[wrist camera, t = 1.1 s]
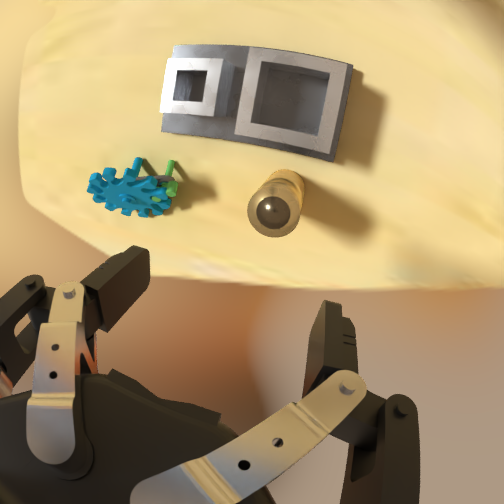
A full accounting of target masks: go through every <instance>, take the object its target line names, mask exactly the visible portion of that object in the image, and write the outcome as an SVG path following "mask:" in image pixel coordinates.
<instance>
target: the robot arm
mask: <svg viewBox="0 0 504 504" xmlns="http://www.w3.org/2000/svg"><path fill="white" fill-rule="evenodd" d="M149 282H150V256H149V251H148V250H147V249H144V248H141V247H138V246H135V245H133V246H131V247H130V248H128V249H127V250H126V251H125V252H123V253H122V252H121V253H119V254H116V255H114V256H112V257H110V258H109V259H108V260H107V261H105V263H103V264H101V265H100V266H99V268H97V269H95V270H94V271H93V272H92V273H91V274H89V275H88V276H87V277H86V278H84V279H83V280H82V281H81V282H80V283H79V282H76V281H69V282H65V283H63V284H61V285H59V286H58V287H57V288H52V287H46V286H45V283H44V280H43V278H42V277H41V276H40V275H30V276H27V277H25V278H23V279H22V280H21V281H20V282H19V283H17V284H16V285H15V286H14V287H13V288H12V289H10V290H9V291H8V292H7V293H6V294H5V295H4V296H2V297H1V298H0V504H276V503H275V501H274V499H273V497H272V496H271V494H270V492H269V490H268V488H267V486H266V485H267V484H269V483H271V482H272V481H273V480H274V479H276V478H277V477H279V476H280V475H281V474H283V473H284V472H285V471H287V470H288V469H289V468H291V467H292V466H293V465H294V464H295V463H297V462H298V461H299V460H300V459H302V458H303V457H304V456H305V455H306V454H307V453H309V452H310V451H311V450H312V449H313V448H315V447H316V446H317V445H318V444H319V443H320V442H321V441H322V440H323V439H325V438H326V437H327V436H328V435H329V434H330V435H332V436H334V437H336V438H338V439H341V440H343V441H345V442H348V443H349V449H348V457H347V464H346V471H345V477H344V483H343V489H342V494H341V499H340V504H419V493H420V440H419V424H418V412H417V408H416V405H415V404H414V402H413V401H412V400H411V399H410V398H409V397H407V396H405V395H401V394H395V395H392V396H390V397H389V398H388V399H387V400H386V399H384V398H382V397H380V396H377V395H375V394H373V393H371V392H370V391H368V390H367V387H366V384H365V382H364V380H363V379H362V377H360V376H359V375H358V359H357V347H356V339H355V338H356V334H355V327H354V325H353V323H352V322H351V320H350V318H346V317H342V306H341V304H339V303H335V302H330V301H327V300H324V301H323V303H322V305H321V308H320V310H319V312H318V315H317V317H316V319H315V322H314V324H313V327H312V329H311V333H310V337H309V345H308V354H307V363H306V372H305V379H304V387H303V394H302V400H300V401H299V402H297V403H294V402H292V403H290V404H288V405H286V406H285V407H284V408H282V409H281V410H279V411H278V412H276V413H275V414H273V415H272V416H271V417H269V418H268V419H266V420H265V421H263V422H262V423H260V424H258V425H257V426H255V427H254V428H252V429H250V430H249V431H247V432H246V433H244V434H242V435H241V436H238V435H237V434H236V433H235V432H234V431H233V430H232V429H231V428H229V427H228V426H227V425H225V424H223V423H222V422H220V418H221V413H218V412H214V411H211V410H208V409H205V408H203V407H200V406H197V405H194V404H190V403H184V402H177V401H170V400H165V399H161V398H158V397H157V396H155V395H154V394H153V393H151V392H150V391H149V390H148V389H146V388H145V387H144V386H142V385H141V384H140V383H139V382H137V381H136V380H134V379H132V378H130V377H128V376H126V375H124V374H122V373H120V372H118V371H116V370H114V369H112V370H111V371H110V372H109V374H108V375H105V374H99V373H98V366H97V338H96V331H97V330H98V329H101V330H103V331H105V332H107V333H108V331H110V329H111V328H112V327H113V326H114V325H115V324H116V323H117V321H118V320H119V319H120V318H121V317H122V316H123V314H124V313H125V312H126V311H127V310H128V309H129V308H130V307H131V306H132V305H133V303H134V302H135V301H136V300H137V299H138V298H139V297H140V296H141V295H142V294H143V292H144V291H145V290H146V289H147V287H148V285H149ZM27 313H28V315H29V318H30V320H31V322H30V323H29V324H28V325H27V326H26V327H25V328H24V329H23V330H22V331H21V332H20V334H19V335H18V336H17V337H15V335H14V328H15V326H16V324H17V323H18V322H19V321H20V320H21V319H22V318H23V317H24V316H25V315H26V314H27ZM34 360H35V365H34V375H33V388H32V390H30V391H26V392H23V393H19V394H15V395H12V390H13V387H14V386H15V385H16V383H17V382H18V381H19V379H20V378H21V376H22V375H23V374H24V373H25V371H26V370H27V369H28V368H29V366H30V365H31V364H32V363H33V361H34Z"/></svg>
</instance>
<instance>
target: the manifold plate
mask: <svg viewBox="0 0 504 504" xmlns="http://www.w3.org/2000/svg"><path fill="white" fill-rule="evenodd" d="M352 70H353V65H352V64H348V63H344V62H340V61H337V60H332V59H328V58H324V57H319V56H314V55H309V54H304V53H298V52H292V51H286V50H279V49H271V48H262V47H251V46H237V45H175V46H174V49H173V54H172V59H168V61H167V67H166V73H165V79H164V85H163V92H162V99H161V107H160V112H162V113H163V120H162V130H161V132H168V133H178V134H188V135H196V136H204V137H211V138H218V139H225V140H232V141H238V142H244V143H249V144H255V145H260V146H265V147H270V148H275V149H280V150H285V151H289V152H294V153H298V154H302V155H306V156H310V157H314V158H318V159H322V160H326V161H330V162H333V161H334V157H335V153H336V149H337V144H338V140H339V135H340V131H341V126H342V122H343V117H344V112H345V107H346V102H347V97H348V92H349V87H350V81H351V76H352Z"/></svg>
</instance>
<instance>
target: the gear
mask: <svg viewBox="0 0 504 504" xmlns="http://www.w3.org/2000/svg"><path fill="white" fill-rule="evenodd" d="M142 162H143V159H142V158H139V157H137V158H135V160H134V163H133V166H132V169H130V168H126V169H125V172H124V175H123V178H121V179H117V178H115V174H116V169H115V168H105V169H104V172H103V174H102V175H101V174H100V173H93V174H92V175H91V177H90V179H89V182H90V183H89V186H88V189H87V192H88V193H92V194H94V196H93V200H94V201H95V202H96V203H101V202H106V204H105V208H106V209H108V210H110V211H114V210H115V209H117V208H122V211H121V214H123V215H126V216H131V212H132V211H133V210H139V213H138V216H139V217H147V218H148V215H149V209H152V213H153V214H154V215H162V214H163V210H164V209H168V208H169V207H170V205H171V199H169V198H168V196H170V197H174V196H176V192H177V187H178V183H177V182H176V181H175V179H174V178H173V177H171V176H172V172H173V168H174V164H175V161H173V160H169V162H168V166H167V170H166V173H165V175H160V176H145V177H138V175H139V171H140V168H141V165H142ZM102 177H103V178H104V179H105V180H106V181H104V180H103V179H102ZM147 208H149V209H147Z"/></svg>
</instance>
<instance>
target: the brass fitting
mask: <svg viewBox="0 0 504 504" xmlns="http://www.w3.org/2000/svg"><path fill="white" fill-rule="evenodd" d="M304 192H305V186H304V182H303V180H302V178H301V177H300V176H299V175H298V174H297V173H295V172H294V171H291V170H287V169H283V170H278V171H276V172H274V173H273V174H272V175H271V176H270V177H269V178H268V179H267V180H266V181H265V182H264V184H263V185H262V186H261V187H260V188H259V189H258V190H257V192H256V193H255V194H254V195H253V196H252V198H251V199H250V201H249V204H248V209H247V213H248V218H249V221H250V223H251V224H252V226H253V227H254V228H255V229H256V230H257V231H258V232H259V233H261V234H263V235H265V236H268V237H282V236H285V235H287V234H289V233H290V232H292V231H293V230H294V229H295V227H296V226H297V224H298V222H299V218H300V213H301V208H302V203H303V198H304Z"/></svg>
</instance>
